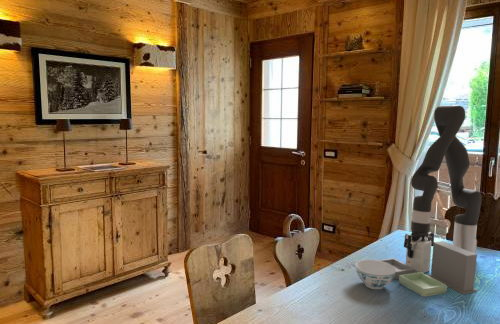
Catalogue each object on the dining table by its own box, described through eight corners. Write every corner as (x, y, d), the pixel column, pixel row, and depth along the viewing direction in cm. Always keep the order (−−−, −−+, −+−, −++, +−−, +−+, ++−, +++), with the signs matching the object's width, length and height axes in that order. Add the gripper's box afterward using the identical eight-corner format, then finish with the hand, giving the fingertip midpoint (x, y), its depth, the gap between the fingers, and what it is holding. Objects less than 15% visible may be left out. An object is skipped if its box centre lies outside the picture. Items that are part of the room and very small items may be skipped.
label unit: (440, 274, 164) (443, 240, 162) (476, 291, 148) (480, 254, 146) (427, 276, 161) (430, 242, 160) (462, 294, 146) (466, 256, 144)
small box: (429, 270, 168) (432, 241, 166) (422, 274, 164) (425, 244, 162) (412, 264, 174) (414, 236, 172) (404, 267, 170) (406, 239, 168)
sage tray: (420, 278, 159) (420, 271, 158) (446, 292, 147) (446, 285, 146) (398, 282, 155) (399, 275, 155) (423, 296, 143) (424, 289, 142)
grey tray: (393, 264, 174) (393, 258, 173) (414, 275, 161) (415, 269, 161) (373, 267, 170) (373, 260, 169) (393, 279, 158) (394, 272, 157)
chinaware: (396, 282, 155) (397, 263, 154) (392, 297, 142) (394, 277, 141) (357, 275, 161) (359, 257, 160) (351, 289, 148) (352, 270, 147)
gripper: (427, 217, 172) (424, 252, 174) (401, 219, 167) (398, 255, 169) (440, 221, 165) (437, 258, 167) (414, 223, 160) (411, 261, 162)
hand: (417, 256), depth 168 cm, fingers open, 8 cm apart
